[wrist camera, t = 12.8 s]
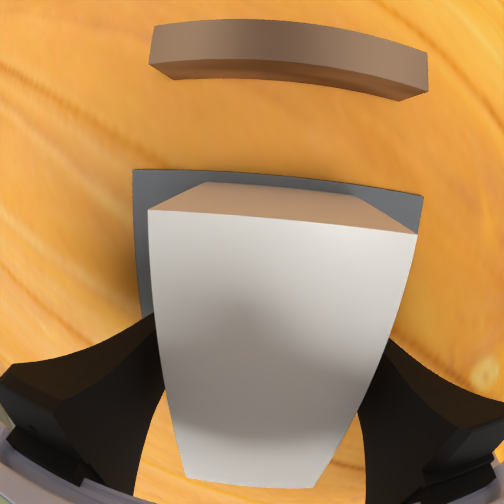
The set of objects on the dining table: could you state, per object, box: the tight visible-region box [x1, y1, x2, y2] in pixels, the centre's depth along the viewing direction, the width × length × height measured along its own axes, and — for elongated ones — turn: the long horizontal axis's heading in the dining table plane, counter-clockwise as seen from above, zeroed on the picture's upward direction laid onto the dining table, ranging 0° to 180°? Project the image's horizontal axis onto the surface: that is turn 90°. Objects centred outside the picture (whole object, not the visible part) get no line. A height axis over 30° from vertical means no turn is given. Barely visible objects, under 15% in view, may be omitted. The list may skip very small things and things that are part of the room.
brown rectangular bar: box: [149, 19, 428, 101], centre depth 8 cm, size 9×2×2 cm, turn 87°
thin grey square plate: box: [133, 170, 424, 390], centre depth 13 cm, size 12×12×1 cm
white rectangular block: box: [148, 182, 418, 488], centre depth 10 cm, size 6×12×6 cm, turn 177°
